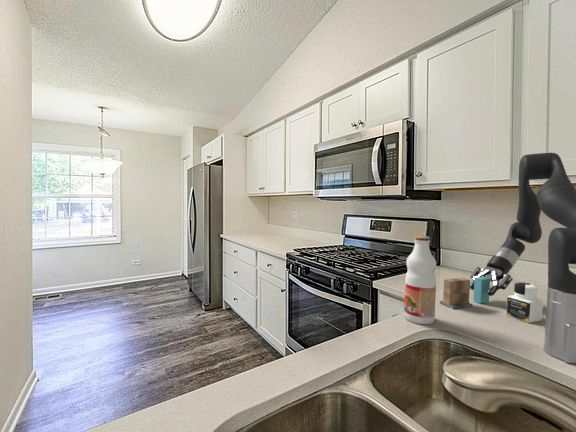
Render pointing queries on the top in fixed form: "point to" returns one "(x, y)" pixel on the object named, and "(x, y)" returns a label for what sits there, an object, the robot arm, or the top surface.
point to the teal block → (481, 289)
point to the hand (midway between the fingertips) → (479, 291)
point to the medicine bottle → (525, 303)
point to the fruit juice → (420, 283)
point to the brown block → (456, 293)
